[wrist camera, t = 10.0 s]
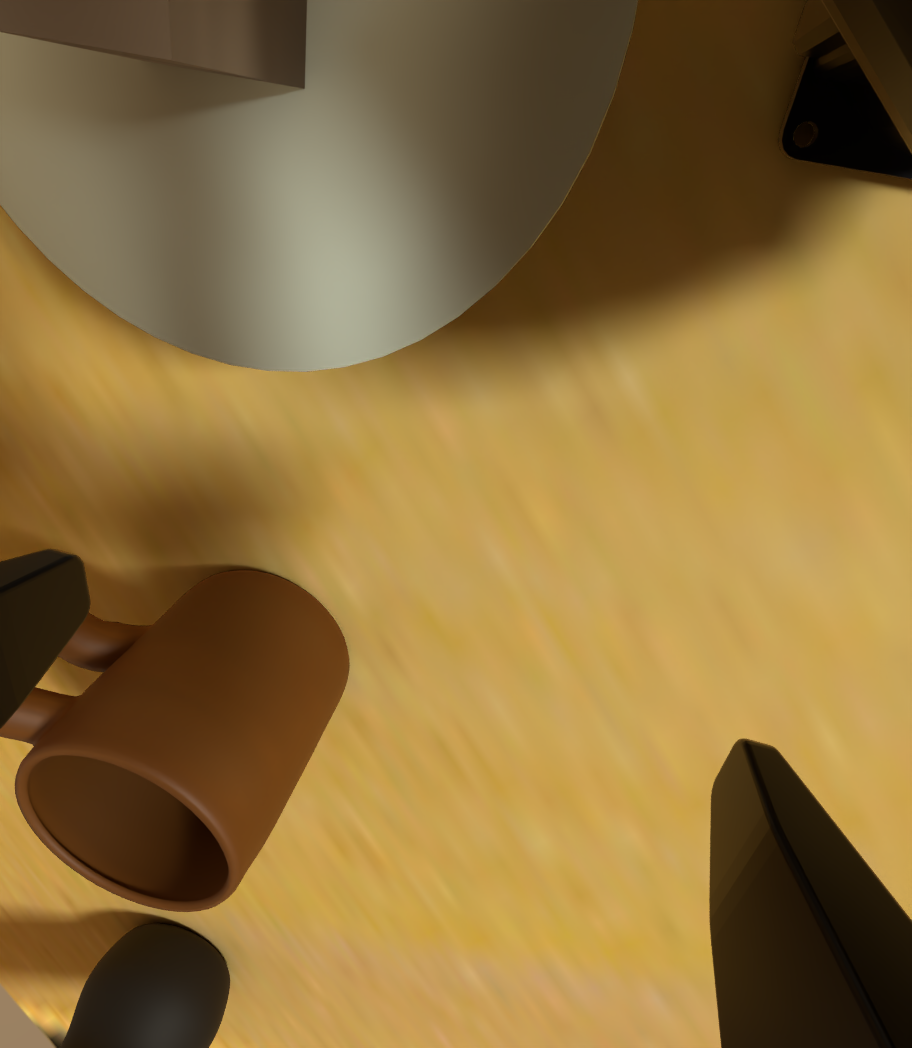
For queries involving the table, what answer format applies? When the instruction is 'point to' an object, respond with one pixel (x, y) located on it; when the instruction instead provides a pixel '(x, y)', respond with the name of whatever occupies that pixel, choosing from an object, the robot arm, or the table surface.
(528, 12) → the lid
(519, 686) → the table surface
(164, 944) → the cola bottle
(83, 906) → the table surface
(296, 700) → the mug
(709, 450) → the table surface
